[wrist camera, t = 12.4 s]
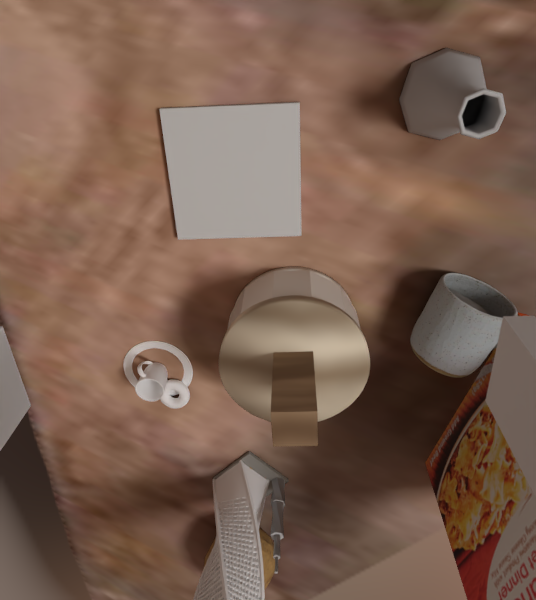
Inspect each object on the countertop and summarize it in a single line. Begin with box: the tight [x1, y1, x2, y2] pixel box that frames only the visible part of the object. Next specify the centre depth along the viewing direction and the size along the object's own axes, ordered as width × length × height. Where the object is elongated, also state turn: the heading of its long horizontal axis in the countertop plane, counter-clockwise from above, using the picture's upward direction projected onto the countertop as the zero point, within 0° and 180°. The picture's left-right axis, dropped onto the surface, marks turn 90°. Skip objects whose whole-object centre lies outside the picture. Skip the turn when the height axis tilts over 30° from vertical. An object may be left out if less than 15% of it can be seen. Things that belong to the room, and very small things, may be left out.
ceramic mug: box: [410, 273, 518, 377], centre depth 49 cm, size 11×8×8 cm
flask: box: [399, 48, 506, 140], centre depth 38 cm, size 7×7×10 cm
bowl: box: [227, 267, 360, 329], centre depth 50 cm, size 13×13×7 cm
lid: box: [219, 295, 370, 446], centre depth 44 cm, size 14×14×11 cm
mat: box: [159, 102, 301, 239], centre depth 46 cm, size 12×12×1 cm
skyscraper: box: [193, 451, 288, 600], centre depth 53 cm, size 8×8×28 cm
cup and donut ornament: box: [123, 341, 193, 408], centre depth 56 cm, size 9×8×4 cm
